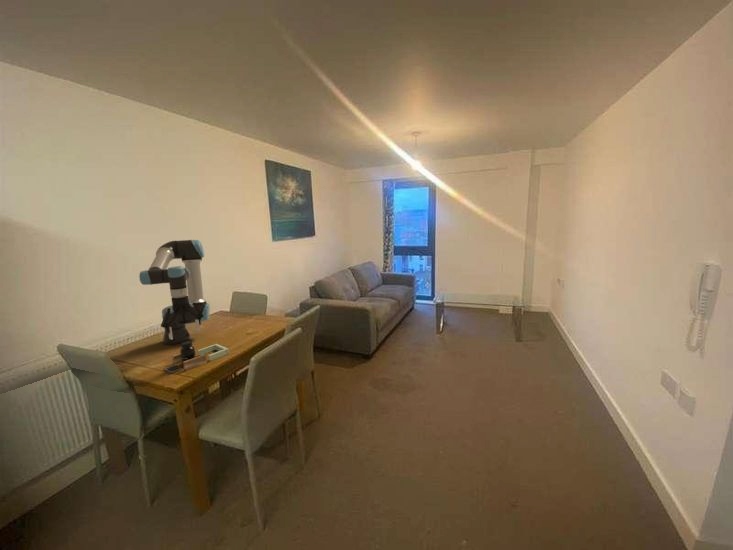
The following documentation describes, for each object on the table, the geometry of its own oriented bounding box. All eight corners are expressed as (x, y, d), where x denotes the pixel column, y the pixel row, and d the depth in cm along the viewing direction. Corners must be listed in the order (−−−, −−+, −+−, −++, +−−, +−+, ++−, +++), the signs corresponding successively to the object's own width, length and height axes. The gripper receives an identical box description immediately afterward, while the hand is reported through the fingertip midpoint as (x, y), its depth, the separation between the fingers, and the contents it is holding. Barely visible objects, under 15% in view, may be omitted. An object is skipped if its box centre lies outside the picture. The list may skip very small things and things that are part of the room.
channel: (173, 363, 166) (172, 356, 165) (194, 356, 175) (193, 348, 174) (185, 370, 158) (184, 362, 157) (206, 362, 167) (205, 354, 166)
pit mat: (163, 369, 160) (163, 368, 159) (176, 365, 164) (175, 364, 164) (170, 374, 155) (170, 372, 155) (182, 369, 160) (182, 368, 160)
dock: (198, 355, 176) (197, 350, 176) (217, 348, 185) (216, 343, 184) (210, 360, 168) (209, 355, 168) (229, 353, 177) (228, 348, 176)
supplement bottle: (182, 367, 161) (179, 346, 159) (181, 363, 167) (178, 342, 164) (197, 363, 165) (194, 343, 163) (195, 359, 171) (192, 339, 168)
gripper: (155, 302, 147) (161, 344, 151) (207, 292, 167) (211, 329, 170) (149, 300, 151) (155, 341, 155) (200, 290, 171) (205, 326, 175)
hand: (185, 334), depth 163 cm, fingers open, 13 cm apart
